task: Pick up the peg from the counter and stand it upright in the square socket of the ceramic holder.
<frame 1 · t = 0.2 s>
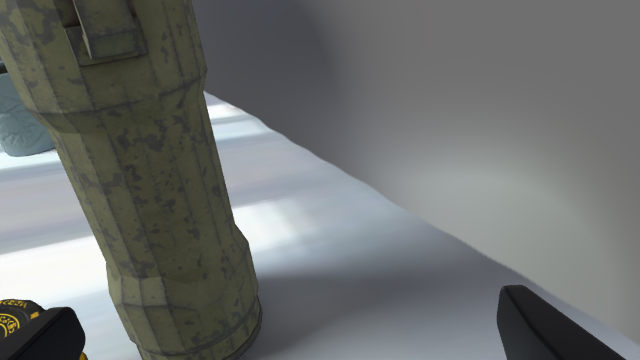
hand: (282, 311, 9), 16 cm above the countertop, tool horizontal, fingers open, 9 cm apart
drinking glass: (39, 145, 66), on the countertop
thermos: (203, 328, 31), on the countertop
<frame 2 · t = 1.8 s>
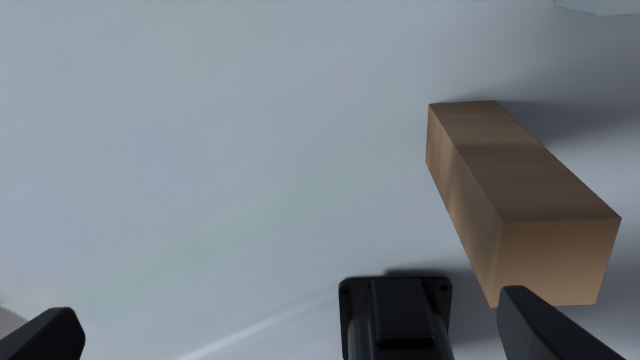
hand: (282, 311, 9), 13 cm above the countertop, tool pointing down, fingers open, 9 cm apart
peg: (458, 132, 21), on the countertop
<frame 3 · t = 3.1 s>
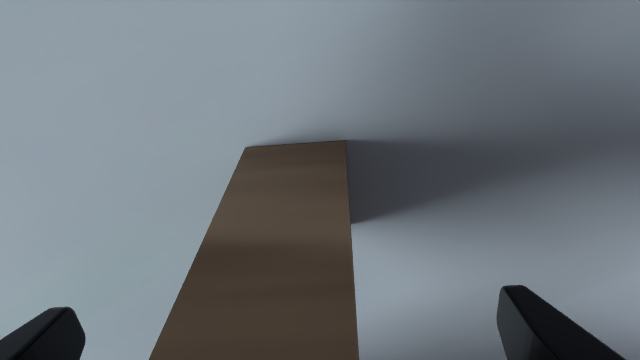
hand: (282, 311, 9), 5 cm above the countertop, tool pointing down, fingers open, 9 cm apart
peg: (300, 187, 13), on the countertop
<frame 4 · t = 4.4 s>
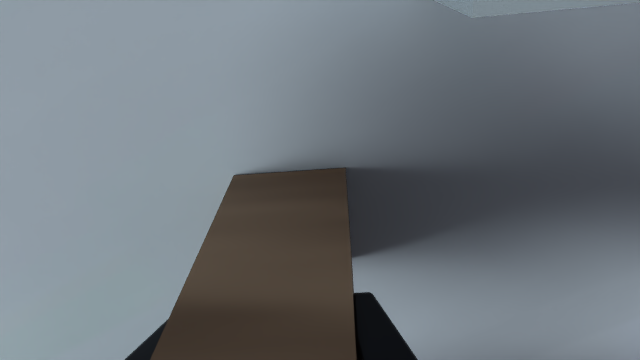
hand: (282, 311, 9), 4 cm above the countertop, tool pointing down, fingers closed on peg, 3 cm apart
peg: (295, 219, 12), on the countertop, touching gripper
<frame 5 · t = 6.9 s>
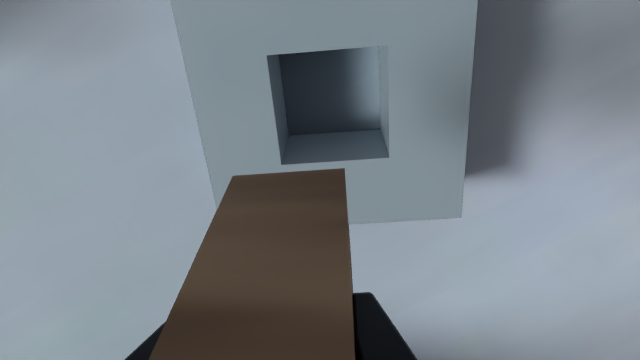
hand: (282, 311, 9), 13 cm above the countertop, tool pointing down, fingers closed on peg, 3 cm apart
peg: (294, 219, 12), point 10 cm above the countertop, touching gripper
holder: (330, 86, 20), on the countertop
when the fingers open (4 cm above the countertop, at t = 9.4 s): peg drops 1 cm, resting in holder.
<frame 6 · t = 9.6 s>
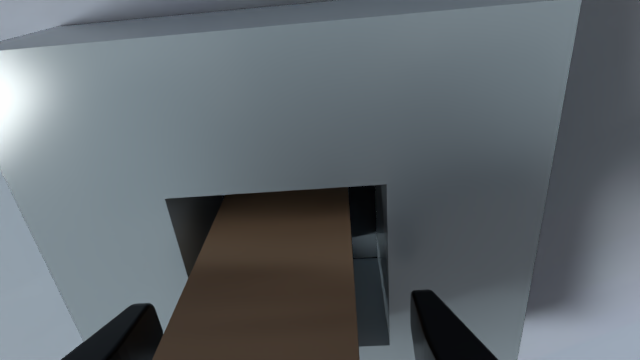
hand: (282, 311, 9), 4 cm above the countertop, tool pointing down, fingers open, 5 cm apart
peg: (299, 200, 13), resting in holder
holder: (298, 201, 13), on the countertop
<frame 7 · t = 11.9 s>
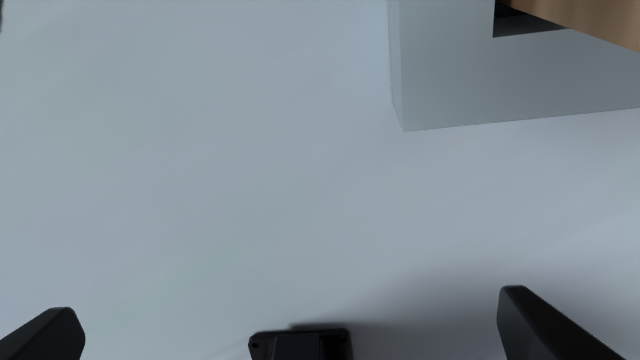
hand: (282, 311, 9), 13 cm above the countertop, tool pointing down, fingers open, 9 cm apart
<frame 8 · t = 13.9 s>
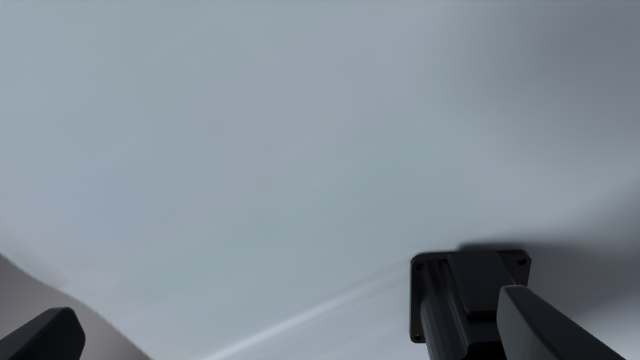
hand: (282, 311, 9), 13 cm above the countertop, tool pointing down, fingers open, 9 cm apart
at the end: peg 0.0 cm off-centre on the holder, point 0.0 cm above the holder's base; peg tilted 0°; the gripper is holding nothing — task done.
